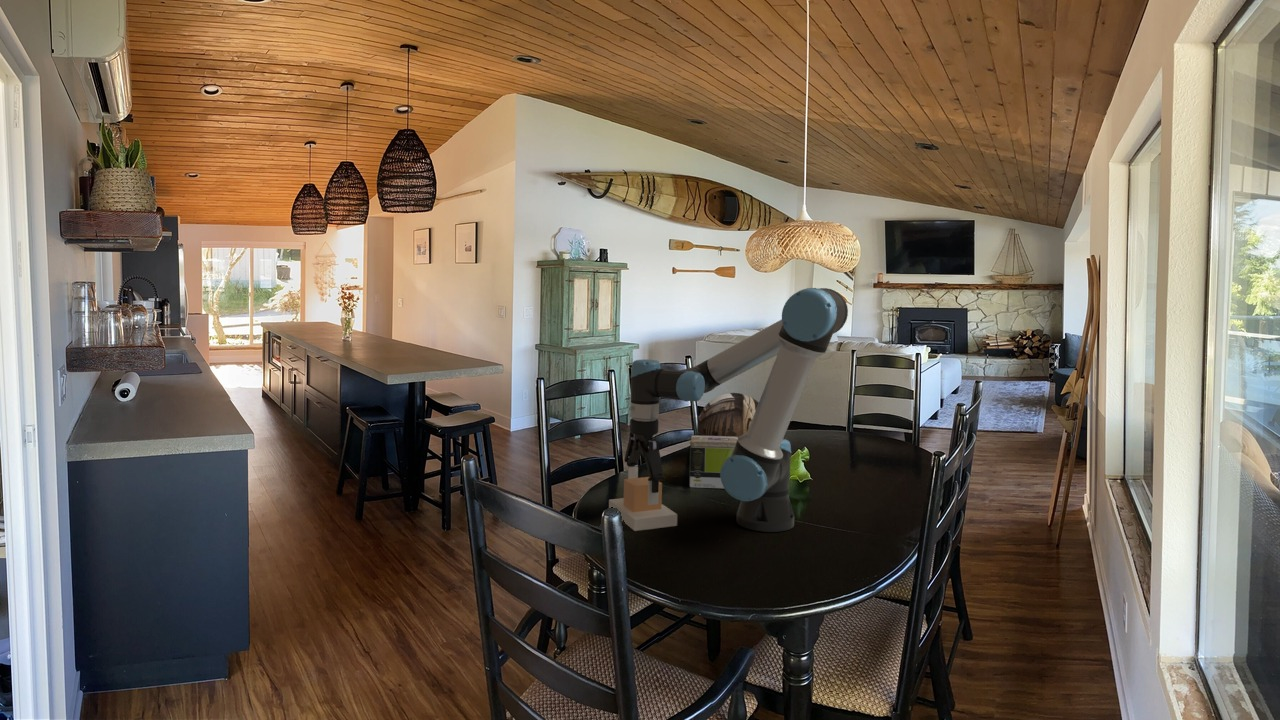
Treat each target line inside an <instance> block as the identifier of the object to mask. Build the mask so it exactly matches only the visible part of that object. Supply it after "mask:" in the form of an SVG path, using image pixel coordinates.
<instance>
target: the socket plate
mask: <svg viewBox="0 0 1280 720" xmlns="http://www.w3.org/2000/svg"><path fill="white" fill-rule="evenodd" d="M623 502H624V497H621V498H612V499H608V509H609V508H611V507H613V508H617V509H618V510H619V511H620V512H621V516H622V520H621V521H622V522H623V520H624V522H625V523H624V522H623V523H624V524H625V525H627V526H628V527H629V528H630V529H631V530H633V531H634V532H637V531H644V530H645V531H646V530H654V529H660V528H662V529H663V528H670V527H676V526H678V513H676V512H675V511H673V510H671V508H668V506H666V505H664V504H662V507H661V509H658V510H650V511H641V512H633V511H631V510H630V509H629V508H627V507H626V506H625V505H623Z"/></svg>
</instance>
